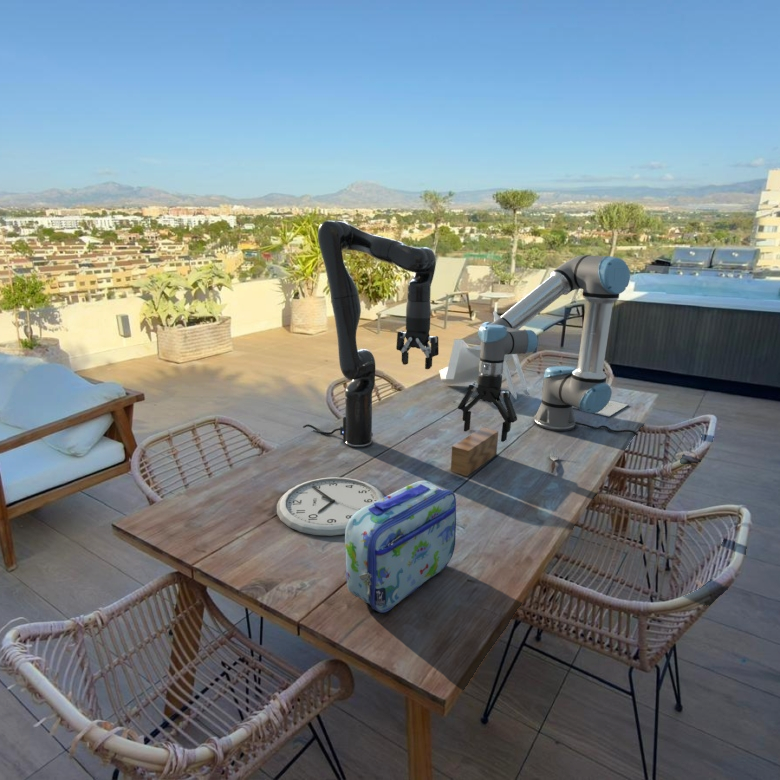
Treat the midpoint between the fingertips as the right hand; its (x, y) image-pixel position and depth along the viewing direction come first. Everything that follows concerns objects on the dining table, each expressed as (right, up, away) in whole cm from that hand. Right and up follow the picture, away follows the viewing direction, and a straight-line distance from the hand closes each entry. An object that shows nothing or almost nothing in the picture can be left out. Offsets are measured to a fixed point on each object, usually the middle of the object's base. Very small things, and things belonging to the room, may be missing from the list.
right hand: (484, 435), depth 173 cm
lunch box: (-29, -26, -61) cm, 73 cm away
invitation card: (+60, +8, +53) cm, 80 cm away
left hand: (-23, +22, -9) cm, 33 cm away
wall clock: (-47, -16, -31) cm, 59 cm away
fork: (+22, -9, -4) cm, 24 cm away
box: (-4, -9, -3) cm, 10 cm away
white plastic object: (+10, +14, +70) cm, 72 cm away
